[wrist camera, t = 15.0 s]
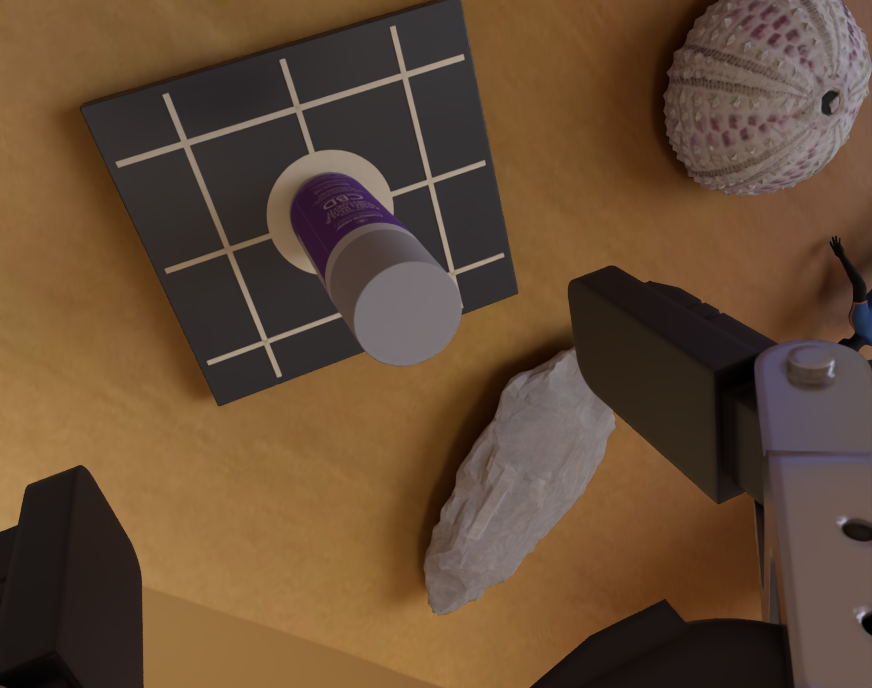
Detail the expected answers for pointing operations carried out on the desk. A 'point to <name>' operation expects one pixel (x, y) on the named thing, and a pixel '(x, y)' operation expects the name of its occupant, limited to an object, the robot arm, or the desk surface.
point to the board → (289, 168)
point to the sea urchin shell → (765, 92)
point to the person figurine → (856, 303)
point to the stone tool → (516, 481)
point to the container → (375, 271)
